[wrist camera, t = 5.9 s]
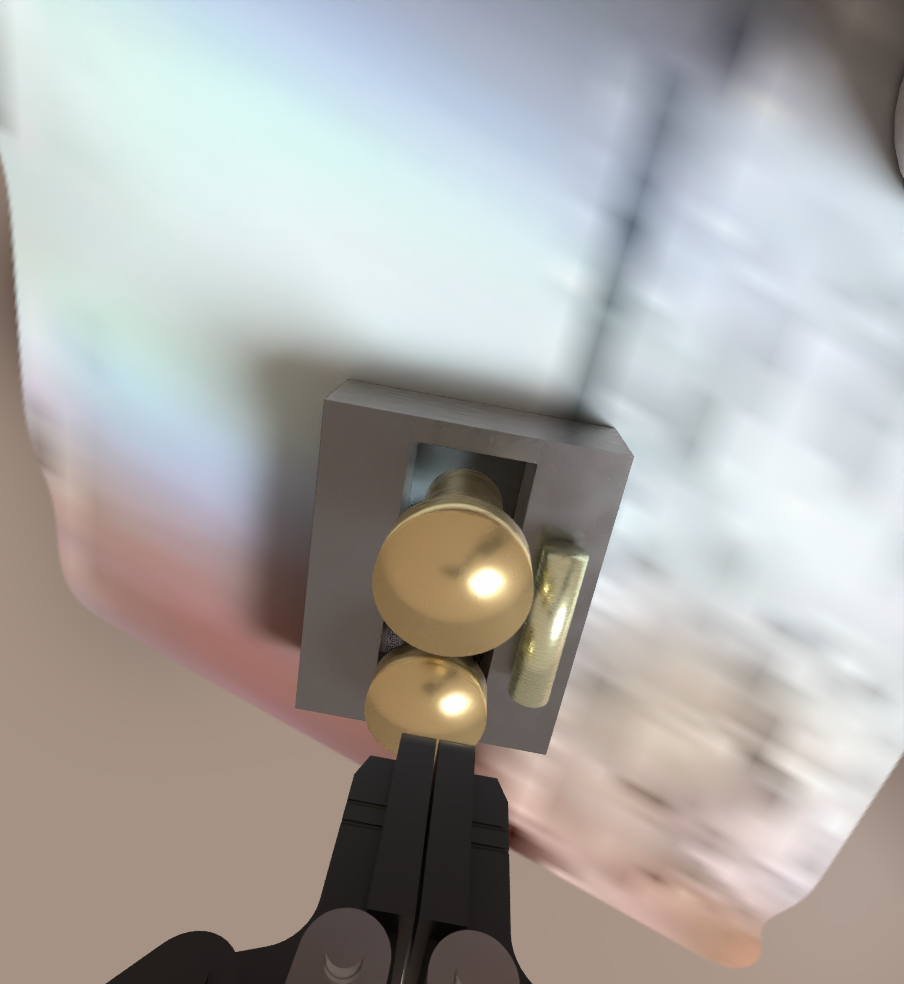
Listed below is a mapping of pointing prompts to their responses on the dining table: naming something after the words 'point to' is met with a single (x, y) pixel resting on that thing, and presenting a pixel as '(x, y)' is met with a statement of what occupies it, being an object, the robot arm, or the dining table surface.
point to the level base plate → (385, 496)
